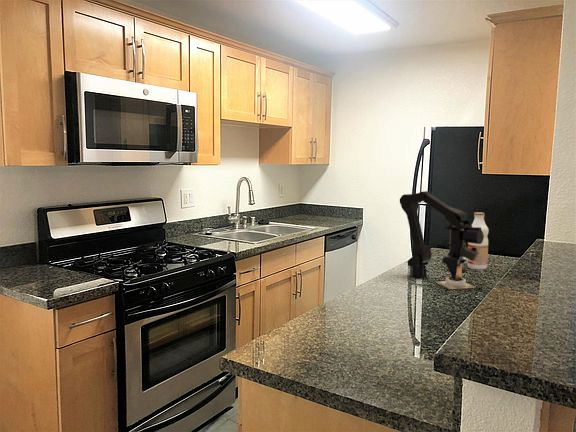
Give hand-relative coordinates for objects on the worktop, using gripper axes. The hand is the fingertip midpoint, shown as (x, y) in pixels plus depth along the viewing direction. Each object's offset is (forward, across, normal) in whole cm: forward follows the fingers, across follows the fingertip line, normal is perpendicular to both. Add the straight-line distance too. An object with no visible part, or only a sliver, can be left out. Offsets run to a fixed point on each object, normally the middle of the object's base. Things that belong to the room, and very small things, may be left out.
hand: (455, 277), depth 198 cm
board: (+4, 0, 0) cm, 4 cm away
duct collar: (+3, 0, 0) cm, 3 cm away
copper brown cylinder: (+2, 0, 0) cm, 2 cm away
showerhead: (+4, +31, +8) cm, 33 cm away
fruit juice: (+4, +43, +2) cm, 43 cm away
